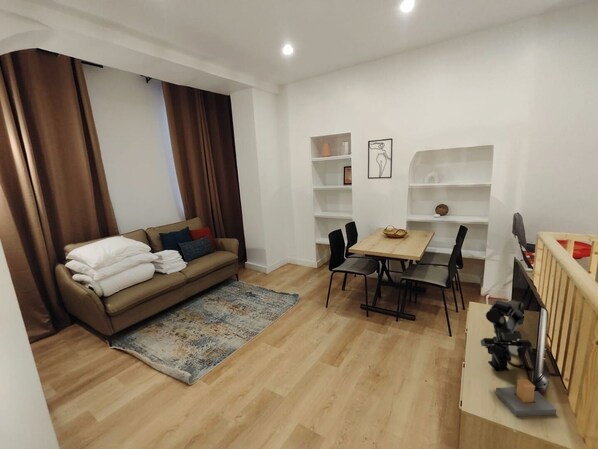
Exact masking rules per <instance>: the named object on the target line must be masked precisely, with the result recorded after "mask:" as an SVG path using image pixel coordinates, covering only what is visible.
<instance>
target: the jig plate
mask: <svg viewBox="0 0 598 449" xmlns="http://www.w3.org/2000/svg"><path fill="white" fill-rule="evenodd" d="M516 393H517V386H508V387H496V388H495V394H496V395H497V396H498V397H499V399H500V400H501V401H502V402H503V403H504V404H505V405H506V406H507V408H508V409H509V410H510V411H511V413H512V412H513V413H512V414H513V415H514V416H515V417H521V416H522V417H523V416H524V417H525V416H527V417H529V416H545V415H546V416H549V415H550V416H553V415H557V410H558V409H557V408H556V407H555V406H554V405H553V404H552V403H551V402H550V401H549V400H547V398H546V397H545V396H543V394H541V393H540V392H539V391H538V390H537V391H534V400H533V403H522V402H521V400H520V399H519V398H518V397H517V396H516ZM528 415H529V416H528Z"/></svg>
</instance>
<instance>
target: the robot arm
mask: <svg viewBox="0 0 598 449" xmlns="http://www.w3.org/2000/svg"><path fill="white" fill-rule="evenodd" d="M524 307H525V305H524V303H523V302H522V301H518V300H515V299H510V300H508V301H502V300H499V299H498V300H496V301H494V302H493V304H492V305H491V307H490V308H489V310H488V311H487V312H486V313H485V318H486V320H487V321H489V322H490V323H491V324H492V326H493V333H494V334H495V336H493V337H491V338H490V337H483V339H481V340H480V345H481V347H484V349H487V353H488V354H489V355H491V359H490V360H488V364H489V365H490V366H491V367H492V368H493V369H494V370H495V371H497V372H501V371H510V367H508V362H509V361H510V362H511V361H512V358H513V357H512V355H513V354H512V353H511V352H510V350H509V346H517V347H518V349H517V351H518V355H517V356H518V357H519V361H520V364H521V365H522V366H525V359H526V354H527V353H526V352H527V350H530V348H533V344H532V341H530V340H528V339H522V334H521V331H520V330H517V329H518V326H521V325H524V324H523V321H524V316H523V314H524ZM507 319H508V320H507ZM517 339H519V341H518V340H517ZM512 341H516V342H512ZM509 343H510V344H509Z"/></svg>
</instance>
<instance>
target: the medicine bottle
mask: <svg viewBox="0 0 598 449" xmlns="http://www.w3.org/2000/svg"><path fill="white" fill-rule="evenodd" d="M517 340H518V341H519V340H520V339H517ZM512 342H516V341H512ZM509 344H510V343H509ZM517 349H518V347H517V346H509V350H510V352H511V353H512V355H515V356H519V355H518V351H517Z"/></svg>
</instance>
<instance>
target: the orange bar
mask: <svg viewBox="0 0 598 449" xmlns="http://www.w3.org/2000/svg"><path fill="white" fill-rule="evenodd" d="M516 384H517V385H516V387H517V393H516V396H517V397H518V398H519V399H520V400H521V402H522V403H533V400H534V390H535V389H536V385H535V384H533V383H532V382H531V381H530V380H529V379H526V378H525V379H520V378H519V379H517V383H516Z"/></svg>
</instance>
